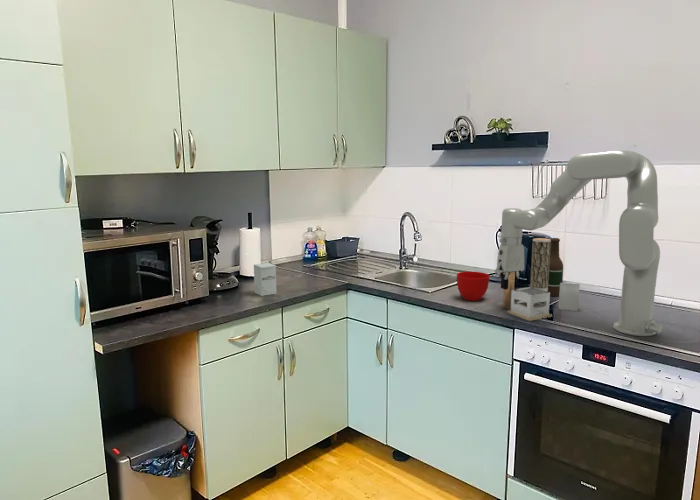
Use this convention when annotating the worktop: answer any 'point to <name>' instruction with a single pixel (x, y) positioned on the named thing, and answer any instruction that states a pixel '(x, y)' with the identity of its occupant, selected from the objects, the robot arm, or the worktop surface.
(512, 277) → the wooden post
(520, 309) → the collar stand
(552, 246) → the beer bottle
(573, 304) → the light gray block
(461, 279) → the ceramic cup
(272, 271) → the supplement box
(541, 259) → the wooden log
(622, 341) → the worktop surface
